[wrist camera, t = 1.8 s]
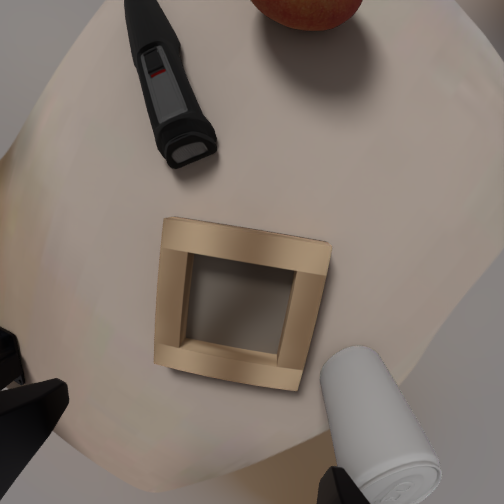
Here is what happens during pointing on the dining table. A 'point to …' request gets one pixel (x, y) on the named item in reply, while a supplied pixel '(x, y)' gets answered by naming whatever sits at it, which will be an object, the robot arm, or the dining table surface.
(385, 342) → the dining table surface
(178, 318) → the socket block
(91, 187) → the dining table surface
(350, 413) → the beverage can
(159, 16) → the electric trimmer
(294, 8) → the apple
